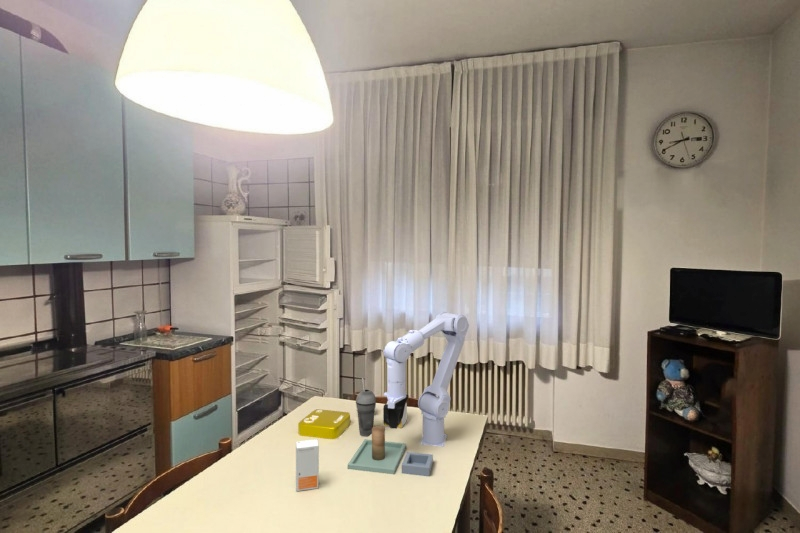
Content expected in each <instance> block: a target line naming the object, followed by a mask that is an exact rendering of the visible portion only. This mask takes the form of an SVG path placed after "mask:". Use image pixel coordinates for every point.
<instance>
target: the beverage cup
mask: <svg viewBox="0 0 800 533" xmlns="http://www.w3.org/2000/svg"><path fill="white" fill-rule="evenodd" d="M361 379H362V381H361V382H362V389H363V390H361V391H360V392H358V393H357V395H356V398H355V407H356V406H357V411H356V412H357V422H358V430H359V436H361V437H370V436H371V435H372V428H373V427H374V425H375V423H374V422H375V410H376V408H375V405H376V404H377V398H376V395H375V393H374V392H373V391H371V390H369V389H366V388H365V380H364V377H361ZM376 406H377V405H376Z"/></svg>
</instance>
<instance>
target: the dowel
mask: <svg viewBox="0 0 800 533" xmlns="http://www.w3.org/2000/svg"><path fill="white" fill-rule="evenodd" d="M371 440H372V459H373V460H377V461H379V460H383V459H384V458H385V441H386V428H385V426H384V425H383V426H382V425H374V426H373V428H372V434H371Z"/></svg>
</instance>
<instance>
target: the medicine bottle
mask: <svg viewBox="0 0 800 533" xmlns="http://www.w3.org/2000/svg"><path fill="white" fill-rule="evenodd" d="M386 404H388V399H387V398H386ZM407 405H408V403H407V402H406V404H405V408H404V414H403V418H402V419H399V421H398V427H397V429H399V428H400V429H402V428H403V427H404V426H405V424H406V422H407V418H408V417H407V416H408V406H407ZM382 410H383V416H382V417H383V420H382V422H383V424H382V425H383V427H389V428H390V425H389V421H388V417H387V414H386V412H385V410H384V406H383V409H382Z"/></svg>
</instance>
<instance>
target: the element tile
mask: <svg viewBox="0 0 800 533" xmlns="http://www.w3.org/2000/svg"><path fill="white" fill-rule="evenodd" d="M350 425H351V413H350V412H348V411H339V410H330V409H329V410H328V409H321V408H319V409H314V410H313V411H311V412H309V414H308V415H306V416H305V417H304V418H303V419H302V420H300V421H299V422H298V426H297V427H298V429H297V430H298V432H297V433H298V436H301V437H309V438H316V439H324V440H325V439H326V440H336V439H338V438H339V437H340V436H342V435H343V433H344V432H345V431H346V430H347V429H348V427H349V426H350Z"/></svg>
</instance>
